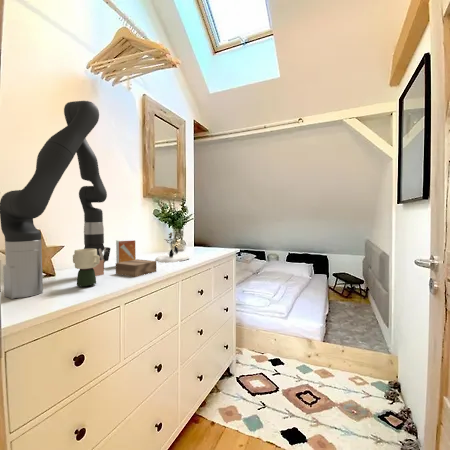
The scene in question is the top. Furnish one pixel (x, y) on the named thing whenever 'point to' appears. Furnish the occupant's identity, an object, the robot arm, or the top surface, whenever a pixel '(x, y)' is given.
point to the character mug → (86, 266)
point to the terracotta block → (99, 268)
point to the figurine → (172, 254)
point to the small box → (125, 250)
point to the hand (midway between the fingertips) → (94, 272)
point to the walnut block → (135, 267)
